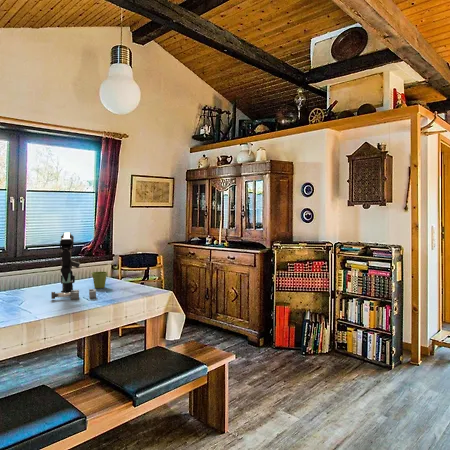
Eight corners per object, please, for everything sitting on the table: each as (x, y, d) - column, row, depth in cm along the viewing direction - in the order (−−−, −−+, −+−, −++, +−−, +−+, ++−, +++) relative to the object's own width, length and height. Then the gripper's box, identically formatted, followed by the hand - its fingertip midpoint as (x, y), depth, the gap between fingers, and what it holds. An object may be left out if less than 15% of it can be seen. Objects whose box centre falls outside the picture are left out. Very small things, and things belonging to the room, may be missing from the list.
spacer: (62, 283, 253) (62, 274, 253) (63, 281, 259) (63, 273, 259) (69, 282, 255) (69, 274, 255) (70, 281, 261) (70, 273, 261)
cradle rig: (70, 300, 250) (70, 292, 249) (70, 297, 257) (70, 290, 257) (95, 298, 255) (95, 291, 255) (95, 295, 263) (95, 288, 262)
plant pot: (110, 286, 294) (110, 271, 294) (102, 289, 282) (102, 274, 282) (96, 285, 296) (96, 271, 296) (88, 288, 285) (88, 273, 284)
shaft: (51, 299, 247) (51, 292, 247) (51, 298, 251) (51, 291, 251) (78, 297, 253) (78, 291, 253) (78, 296, 257) (78, 289, 257)
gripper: (79, 258, 250) (79, 282, 251) (79, 255, 268) (79, 277, 269) (60, 259, 247) (60, 283, 247) (62, 255, 264) (62, 278, 265)
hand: (66, 280), depth 257 cm, fingers closed on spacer, 6 cm apart
